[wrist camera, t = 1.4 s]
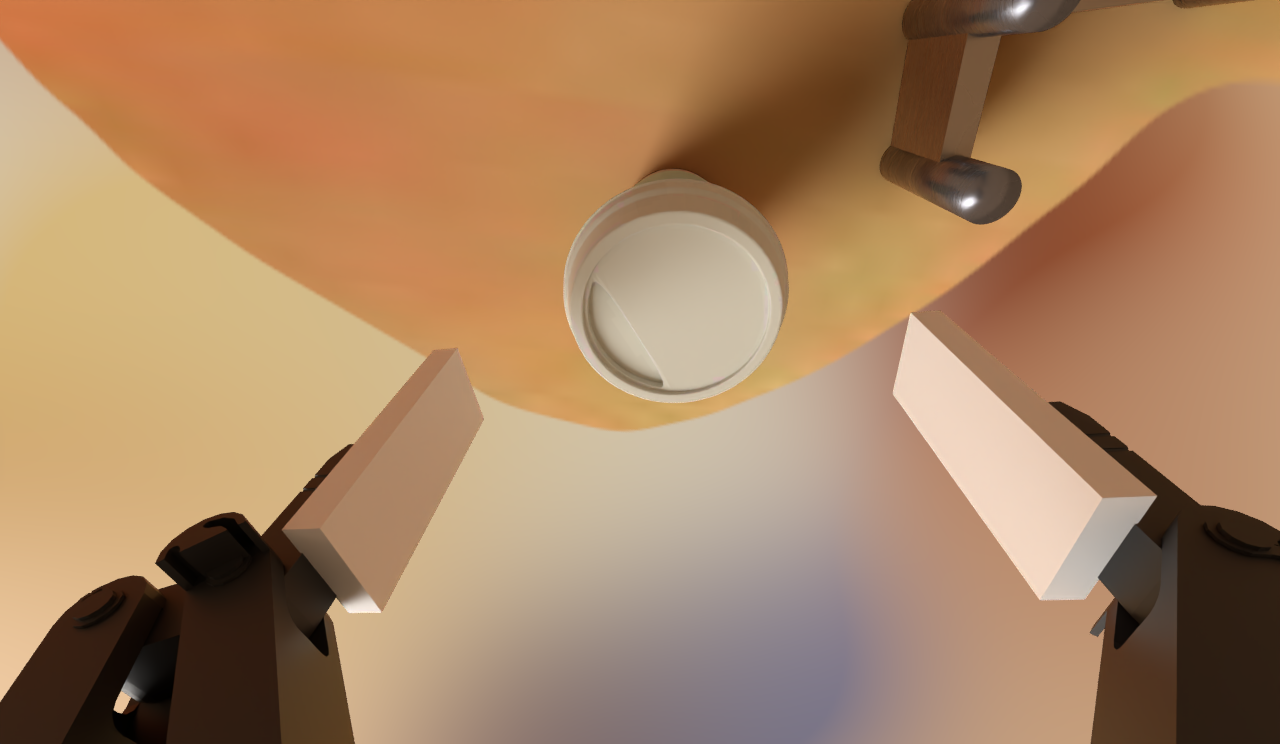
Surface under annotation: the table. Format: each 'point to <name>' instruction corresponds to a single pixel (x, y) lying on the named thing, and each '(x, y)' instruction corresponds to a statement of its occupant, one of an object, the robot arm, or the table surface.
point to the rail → (964, 97)
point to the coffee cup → (676, 288)
